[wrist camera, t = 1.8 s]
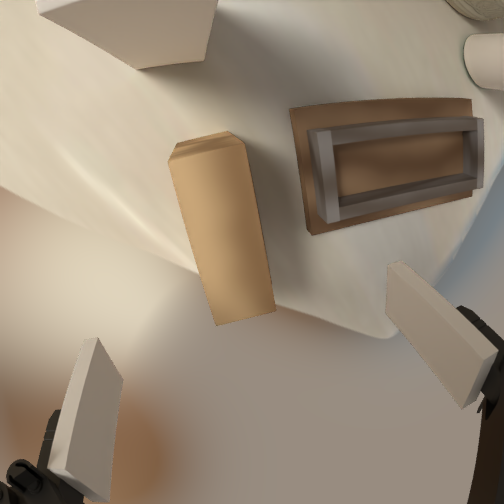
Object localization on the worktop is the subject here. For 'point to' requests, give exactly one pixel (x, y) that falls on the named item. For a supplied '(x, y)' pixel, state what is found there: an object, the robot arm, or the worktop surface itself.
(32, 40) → the worktop surface
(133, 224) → the worktop surface
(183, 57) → the milk
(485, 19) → the jar
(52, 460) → the robot arm
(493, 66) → the can
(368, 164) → the wooden tray
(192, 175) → the tan wooden block
